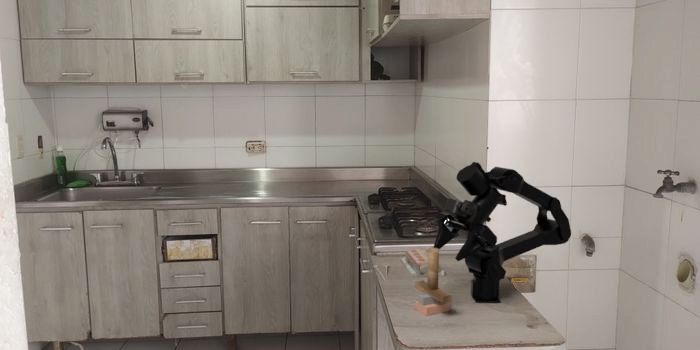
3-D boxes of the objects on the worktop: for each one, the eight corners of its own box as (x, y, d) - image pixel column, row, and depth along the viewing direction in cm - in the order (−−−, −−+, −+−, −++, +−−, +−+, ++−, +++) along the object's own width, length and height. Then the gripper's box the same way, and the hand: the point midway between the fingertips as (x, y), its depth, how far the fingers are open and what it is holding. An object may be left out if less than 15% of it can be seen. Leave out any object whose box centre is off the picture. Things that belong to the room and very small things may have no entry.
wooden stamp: (423, 286, 147) (423, 242, 145) (451, 301, 137) (453, 254, 135) (414, 287, 146) (415, 243, 144) (443, 303, 135) (444, 255, 134)
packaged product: (446, 261, 167) (413, 263, 166) (446, 277, 168) (413, 279, 167) (430, 245, 185) (400, 246, 184) (430, 259, 186) (400, 261, 184)
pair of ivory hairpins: (373, 268, 177) (373, 262, 177) (388, 268, 178) (388, 262, 177) (379, 291, 160) (379, 284, 160) (396, 291, 161) (396, 284, 160)
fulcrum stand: (437, 304, 146) (438, 289, 145) (449, 310, 141) (450, 295, 141) (414, 308, 142) (415, 293, 142) (426, 315, 138) (426, 300, 137)
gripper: (441, 181, 150) (405, 227, 146) (489, 192, 133) (450, 244, 130) (464, 208, 154) (430, 253, 151) (513, 222, 138) (476, 272, 135)
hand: (445, 255), depth 141 cm, fingers open, 9 cm apart
